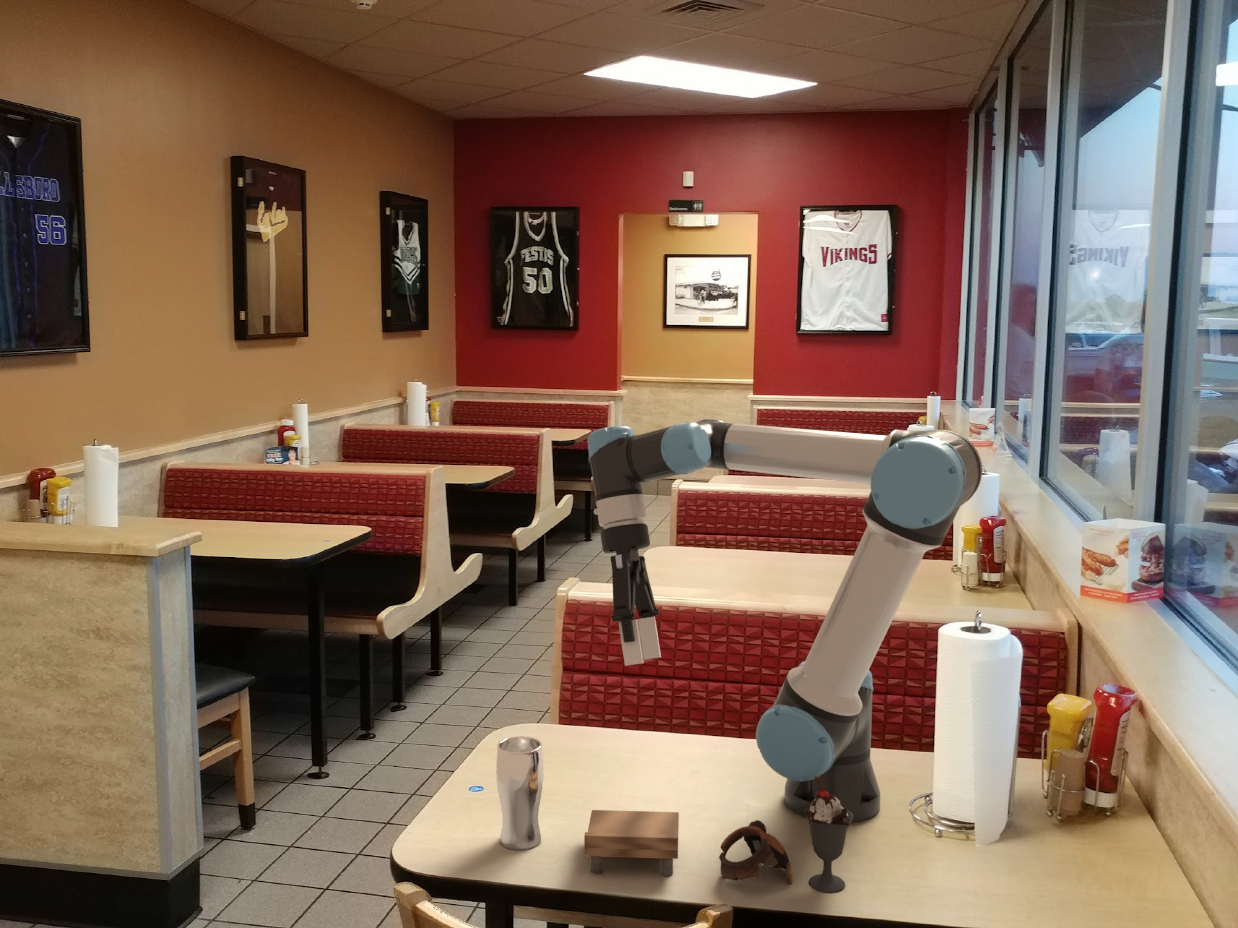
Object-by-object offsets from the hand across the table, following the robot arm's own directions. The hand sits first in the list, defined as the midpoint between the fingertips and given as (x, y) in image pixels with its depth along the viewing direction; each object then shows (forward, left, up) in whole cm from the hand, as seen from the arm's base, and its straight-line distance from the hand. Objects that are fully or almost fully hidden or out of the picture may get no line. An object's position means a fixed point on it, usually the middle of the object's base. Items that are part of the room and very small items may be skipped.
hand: (643, 661), depth 171 cm
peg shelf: (+1, +14, -25) cm, 28 cm away
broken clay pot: (-17, +18, -25) cm, 35 cm away
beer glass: (+18, +10, -25) cm, 32 cm away
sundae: (-26, +20, -25) cm, 41 cm away
